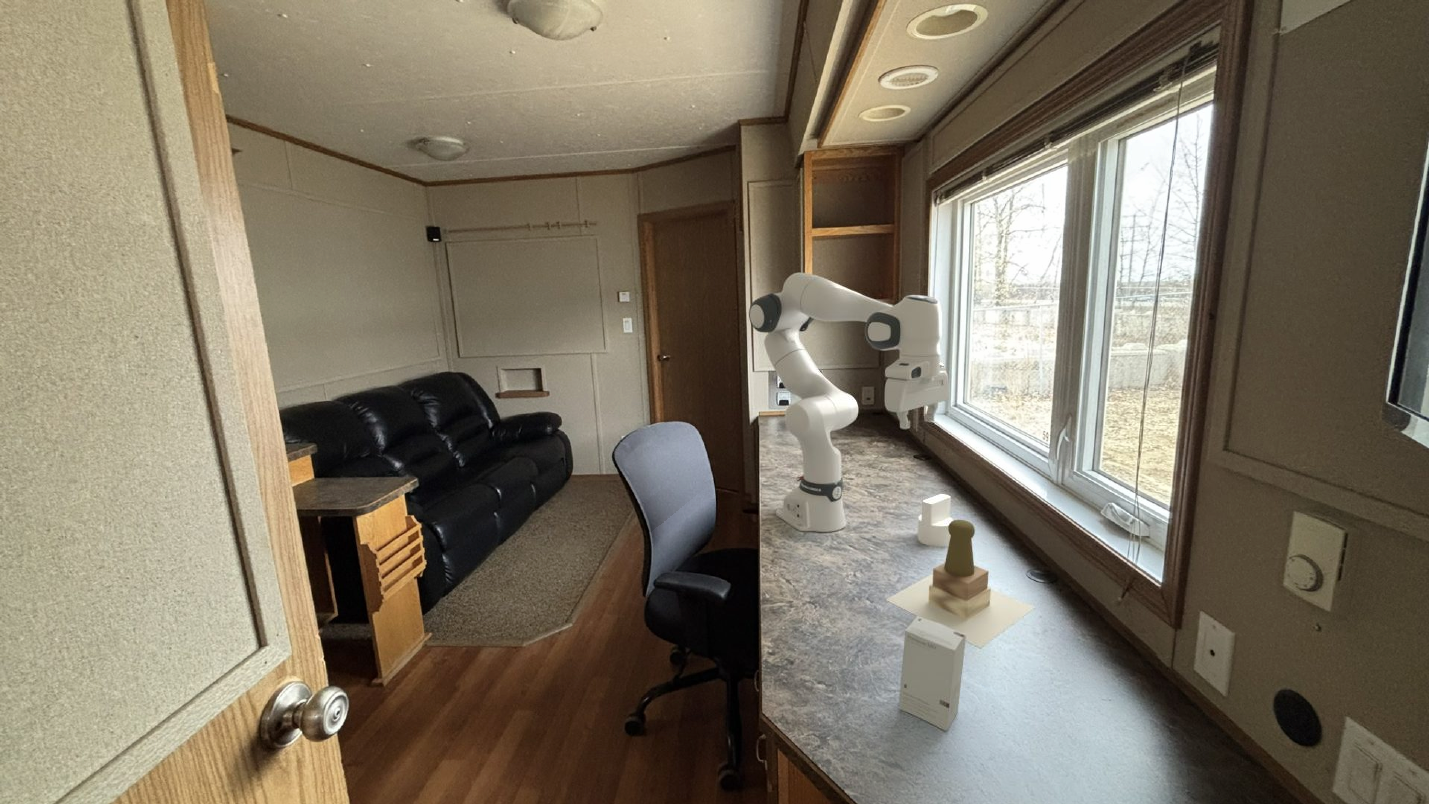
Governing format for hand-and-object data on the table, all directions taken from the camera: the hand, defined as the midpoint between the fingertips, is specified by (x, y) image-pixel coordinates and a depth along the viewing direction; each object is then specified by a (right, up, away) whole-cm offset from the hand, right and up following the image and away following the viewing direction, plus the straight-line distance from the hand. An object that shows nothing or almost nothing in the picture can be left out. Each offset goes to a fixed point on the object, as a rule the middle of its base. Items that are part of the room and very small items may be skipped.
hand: (917, 424), depth 131 cm
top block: (+6, -35, -10) cm, 37 cm away
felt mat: (+6, -39, -9) cm, 41 cm away
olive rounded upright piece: (+5, -31, -10) cm, 33 cm away
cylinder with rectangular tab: (+13, -33, +23) cm, 42 cm away
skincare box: (-12, -46, -38) cm, 61 cm away
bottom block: (+6, -39, -9) cm, 40 cm away
